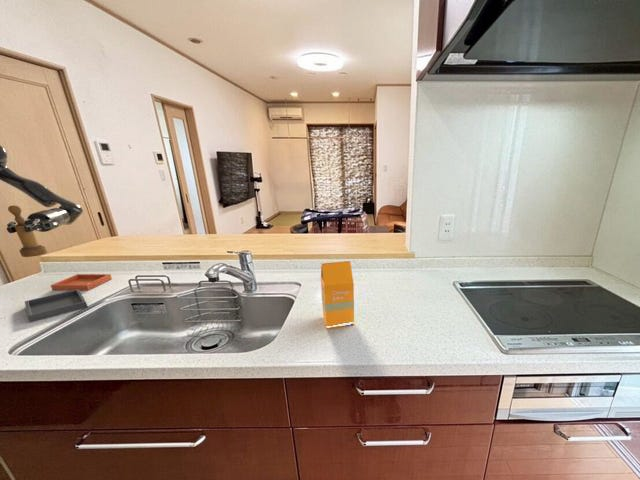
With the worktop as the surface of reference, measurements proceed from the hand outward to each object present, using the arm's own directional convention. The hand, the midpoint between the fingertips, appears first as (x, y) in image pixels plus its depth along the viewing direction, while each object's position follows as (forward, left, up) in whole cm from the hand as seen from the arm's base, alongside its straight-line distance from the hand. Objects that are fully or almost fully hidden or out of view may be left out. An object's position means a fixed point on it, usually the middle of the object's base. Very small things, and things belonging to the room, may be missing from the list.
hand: (18, 229), depth 104 cm
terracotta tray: (+7, +9, -24) cm, 26 cm away
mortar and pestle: (-2, +2, -10) cm, 11 cm away
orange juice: (+116, +10, -24) cm, 119 cm away
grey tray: (+20, -8, -24) cm, 32 cm away
